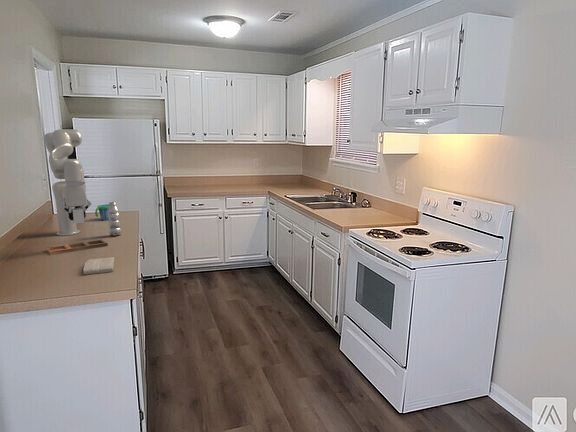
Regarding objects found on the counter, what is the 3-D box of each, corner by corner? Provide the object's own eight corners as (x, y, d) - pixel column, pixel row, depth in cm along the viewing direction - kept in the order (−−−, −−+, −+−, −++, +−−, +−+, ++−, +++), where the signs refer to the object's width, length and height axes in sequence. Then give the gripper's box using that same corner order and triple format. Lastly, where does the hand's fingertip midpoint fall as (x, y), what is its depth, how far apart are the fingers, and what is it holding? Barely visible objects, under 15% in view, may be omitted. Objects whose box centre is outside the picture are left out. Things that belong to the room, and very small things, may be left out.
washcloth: (115, 261, 189) (114, 255, 189) (114, 272, 173) (113, 266, 172) (87, 264, 185) (86, 258, 185) (83, 276, 169) (82, 269, 168)
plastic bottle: (117, 237, 235) (114, 203, 231) (107, 236, 236) (103, 202, 233) (124, 234, 241) (121, 201, 238) (113, 234, 243) (110, 201, 239)
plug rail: (46, 250, 207) (45, 247, 207) (101, 241, 224) (101, 239, 224) (50, 255, 199) (49, 252, 199) (107, 245, 216) (107, 243, 216)
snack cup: (99, 222, 279) (98, 207, 277) (92, 220, 285) (91, 206, 284) (121, 218, 291) (119, 204, 289) (113, 217, 297) (112, 203, 295)
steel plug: (71, 222, 210) (70, 208, 209) (81, 220, 214) (80, 207, 212) (74, 223, 207) (72, 209, 205) (84, 222, 210) (83, 208, 209)
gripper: (89, 182, 215) (92, 216, 218) (53, 185, 204) (57, 220, 207) (93, 183, 209) (97, 218, 213) (56, 186, 198) (61, 222, 202)
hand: (77, 219), depth 210 cm, fingers closed on steel plug, 5 cm apart
